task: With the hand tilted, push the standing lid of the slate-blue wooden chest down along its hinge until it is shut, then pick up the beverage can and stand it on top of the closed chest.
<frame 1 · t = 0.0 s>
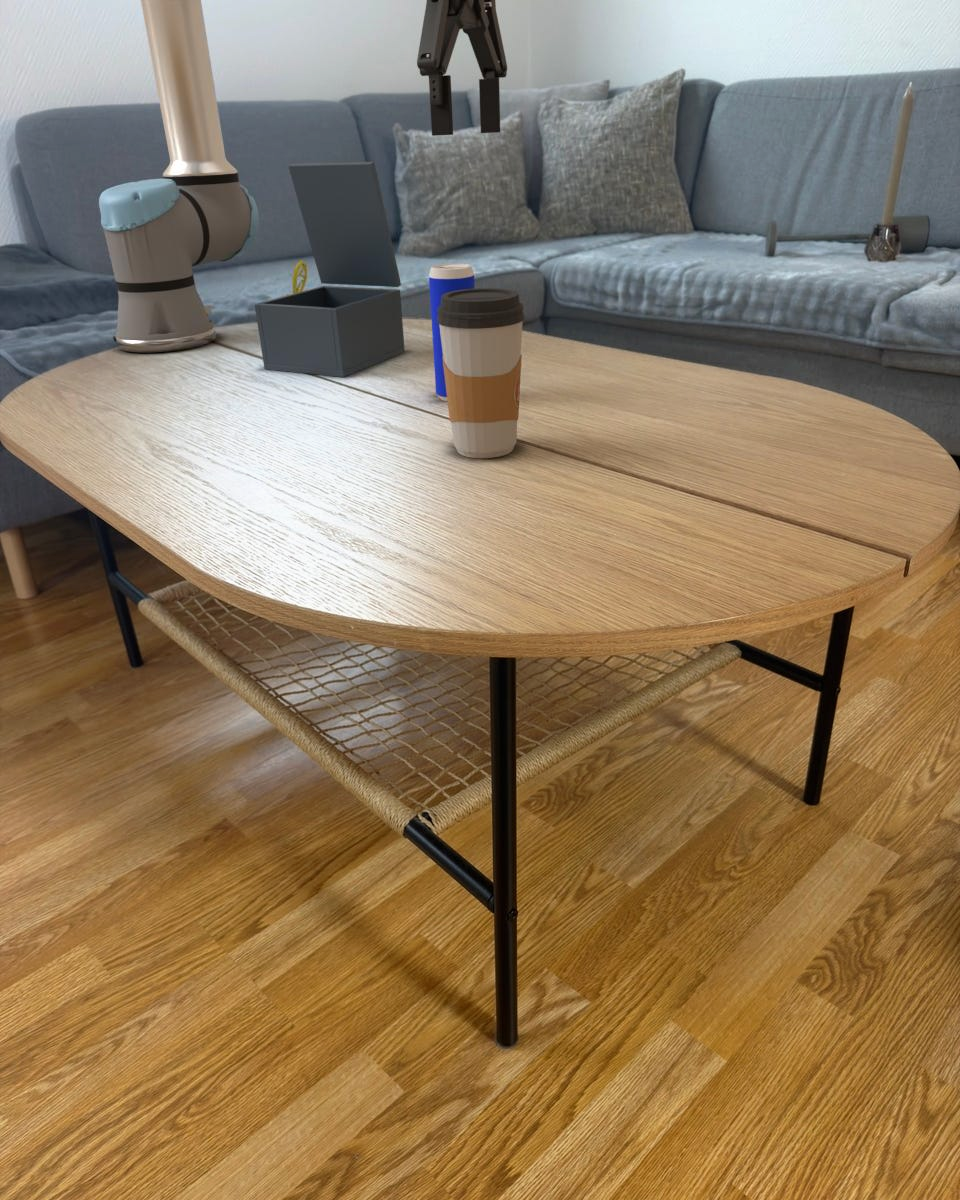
hand: (467, 134, 116), 28 cm above the table, tool pointing down, fingers open, 13 cm apart
coffee cup: (485, 450, 88), on the table
yellow spoked ring: (291, 332, 145), on the table
chest: (336, 360, 125), on the table
lid: (346, 226, 121), point 17 cm above the table, hinge at 75.0°
beverage can: (457, 398, 106), on the table
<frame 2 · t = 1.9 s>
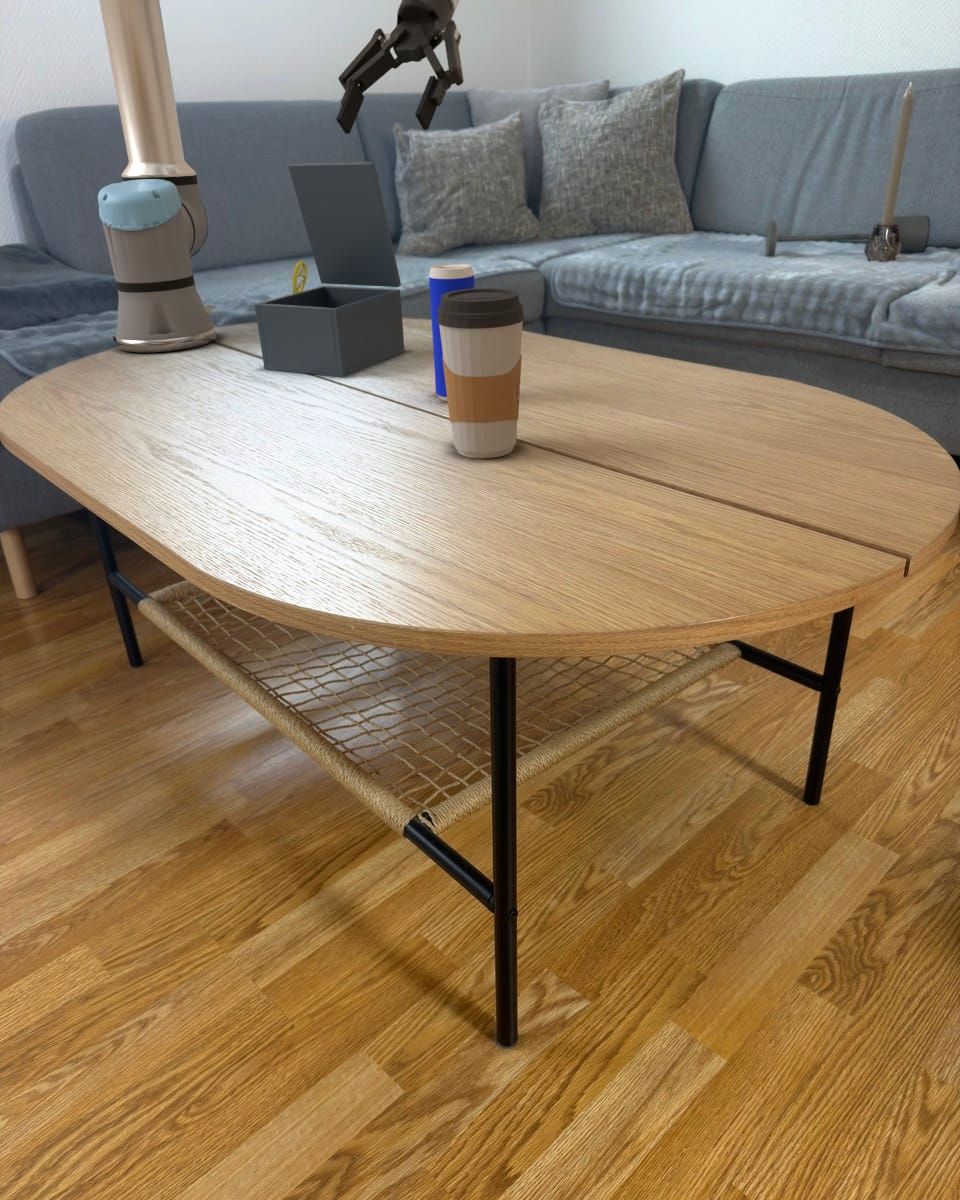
hand: (381, 124, 123), 30 cm above the table, tool tilted 45°, fingers open, 13 cm apart
nothing on the table moved.
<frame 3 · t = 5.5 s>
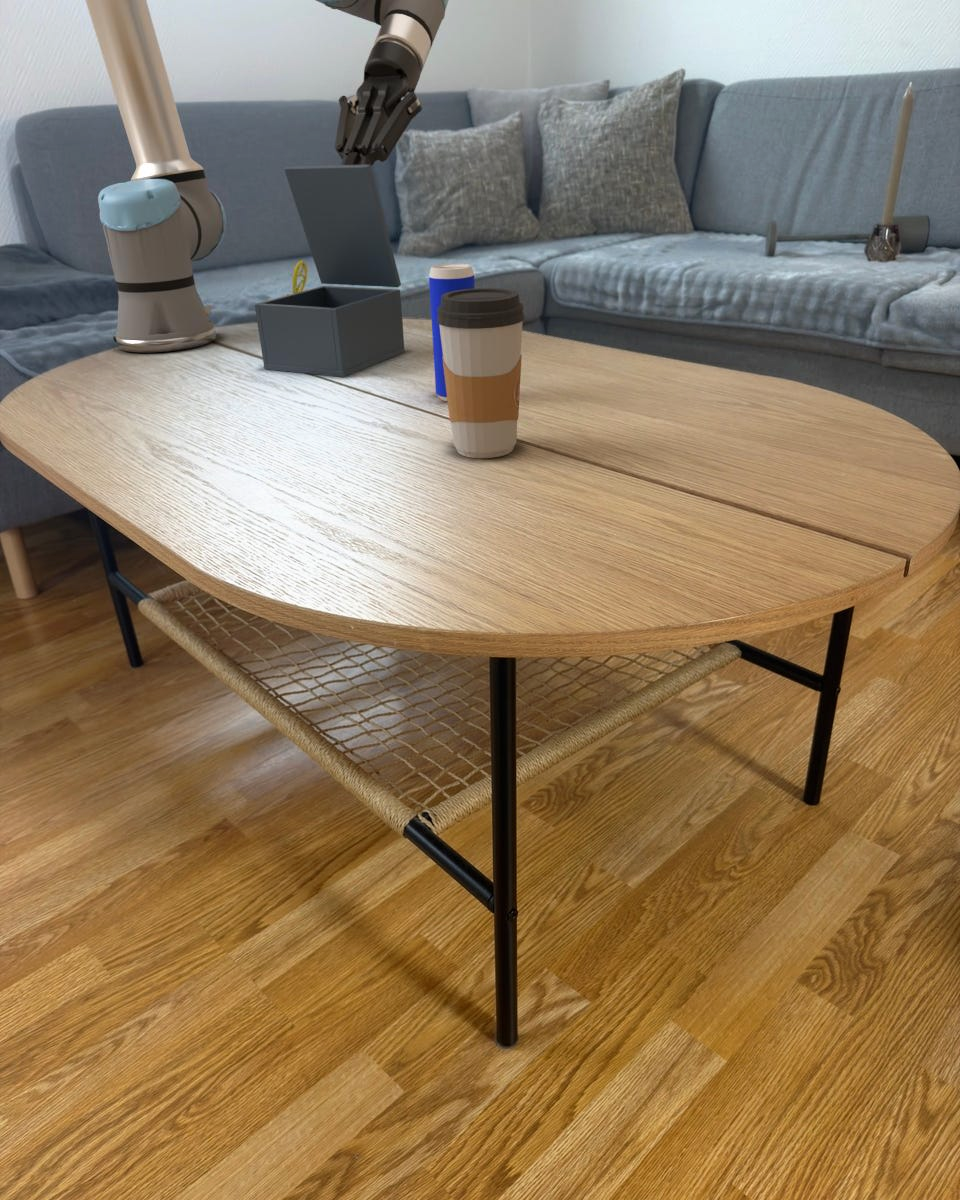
hand: (342, 198, 119), 21 cm above the table, tool tilted 45°, fingers closed
lid: (344, 228, 121), point 17 cm above the table, hinge at 71.5°, touching gripper
everything else where it was.
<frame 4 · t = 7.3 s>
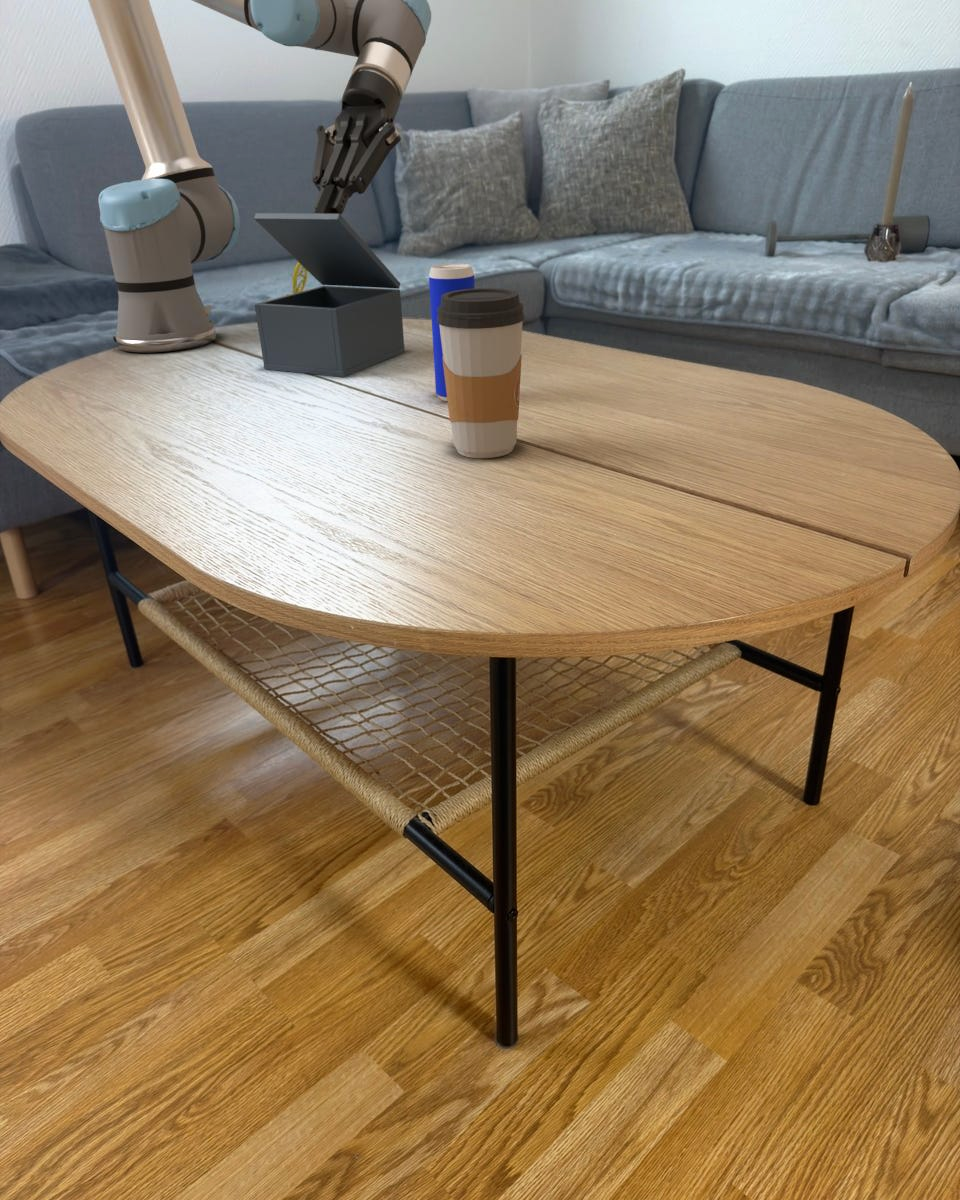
hand: (319, 232, 116), 17 cm above the table, tool tilted 45°, fingers closed
lid: (330, 252, 119), point 14 cm above the table, hinge at 38.6°, touching gripper
everything else where it was.
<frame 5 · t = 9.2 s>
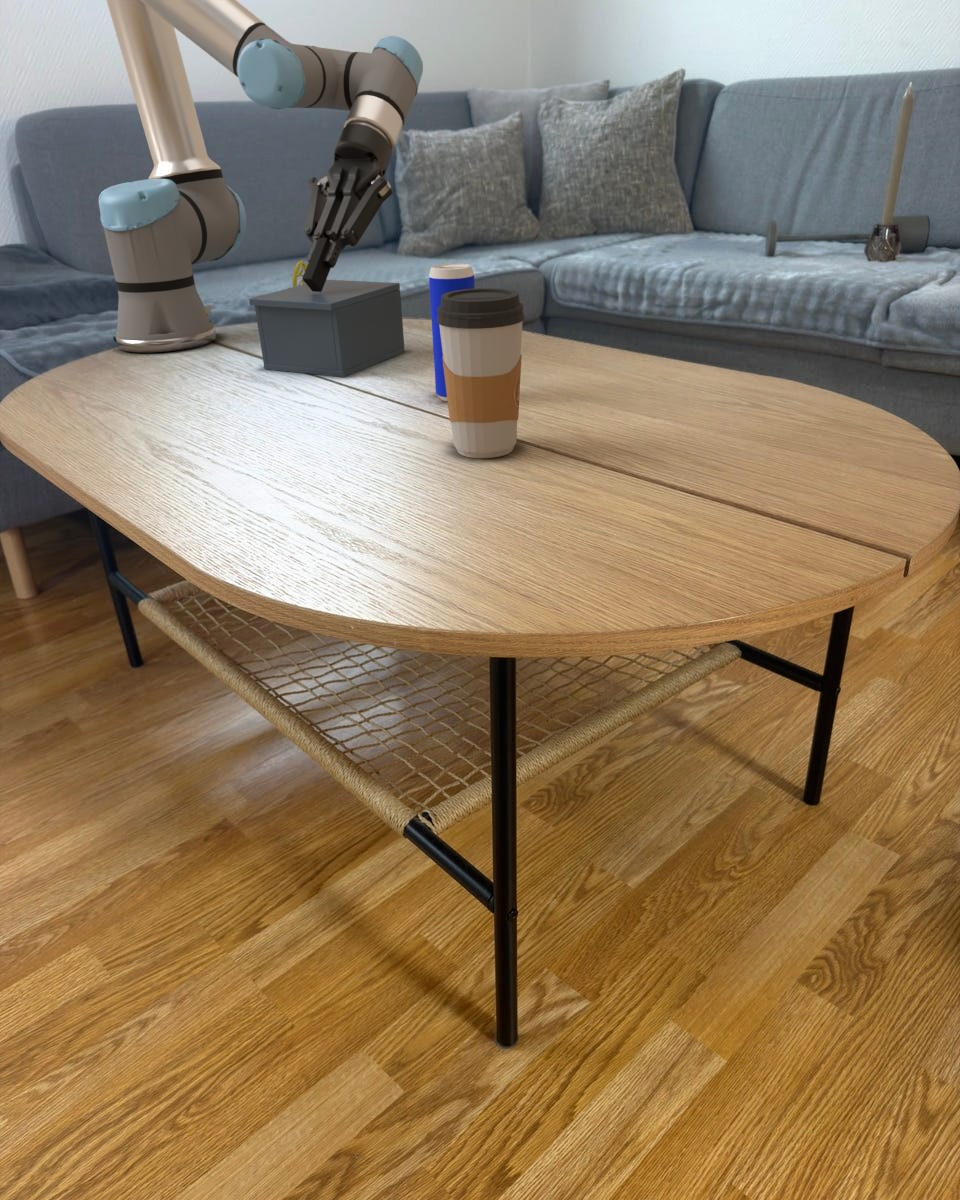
hand: (312, 285, 117), 11 cm above the table, tool tilted 45°, fingers closed
lid: (326, 293, 120), point 9 cm above the table, hinge at -0.2°, touching chest, gripper
everything else where it was.
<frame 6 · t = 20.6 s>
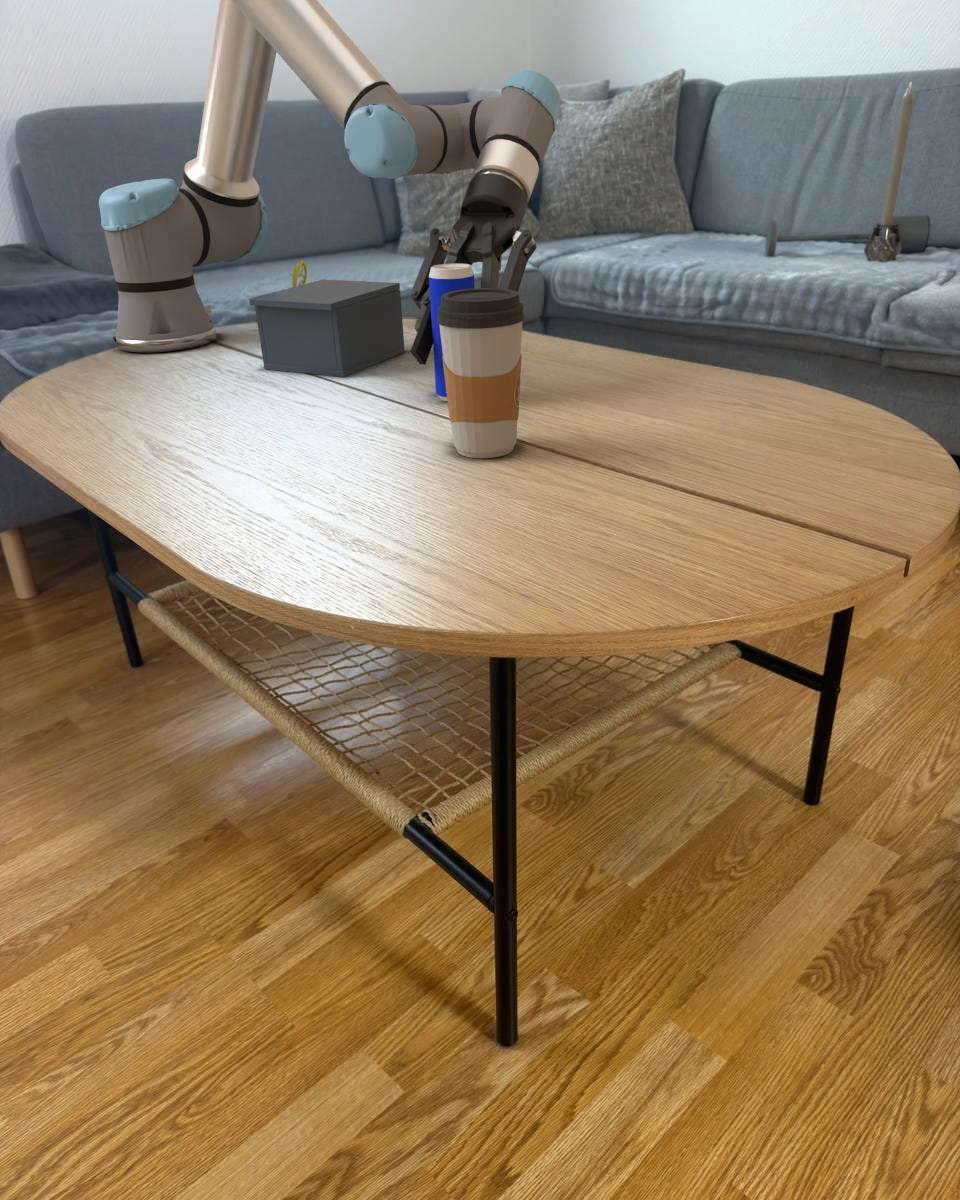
hand: (439, 359, 100), 5 cm above the table, tool tilted 45°, fingers closed on beverage can, 5 cm apart
lid: (326, 293, 120), point 9 cm above the table, hinge at -0.2°, touching chest
beverage can: (457, 398, 106), on the table, touching gripper
everything else where it was.
when the fingers open (15 cm above the table, at t = 30.5 s): beverage can stays where it is, resting on lid.
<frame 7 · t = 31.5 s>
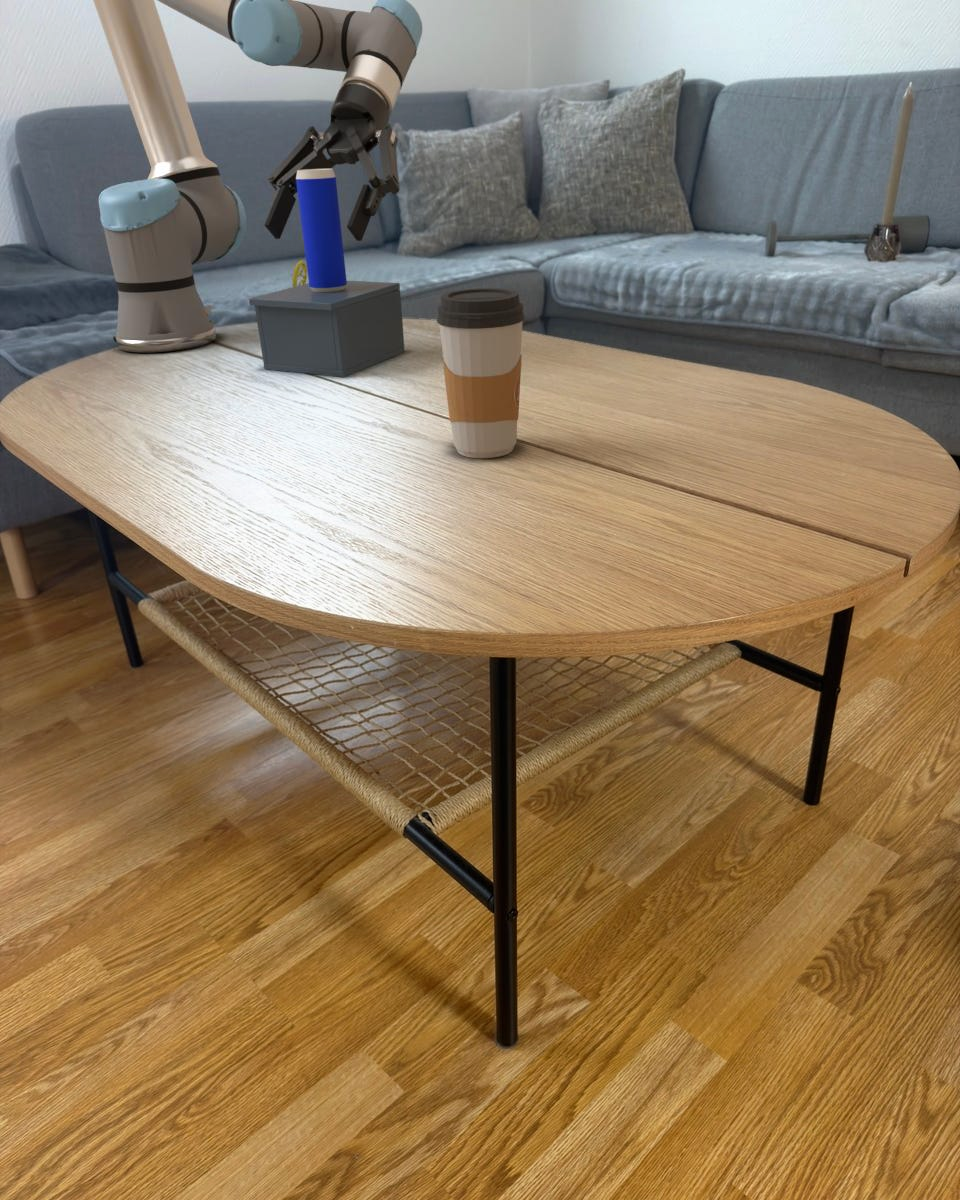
hand: (311, 233, 115), 17 cm above the table, tool tilted 45°, fingers open, 13 cm apart
lid: (326, 293, 120), point 9 cm above the table, hinge at -0.2°, touching beverage can, chest
beverage can: (328, 291, 121), point 9 cm above the table, touching lid
everything else where it was.
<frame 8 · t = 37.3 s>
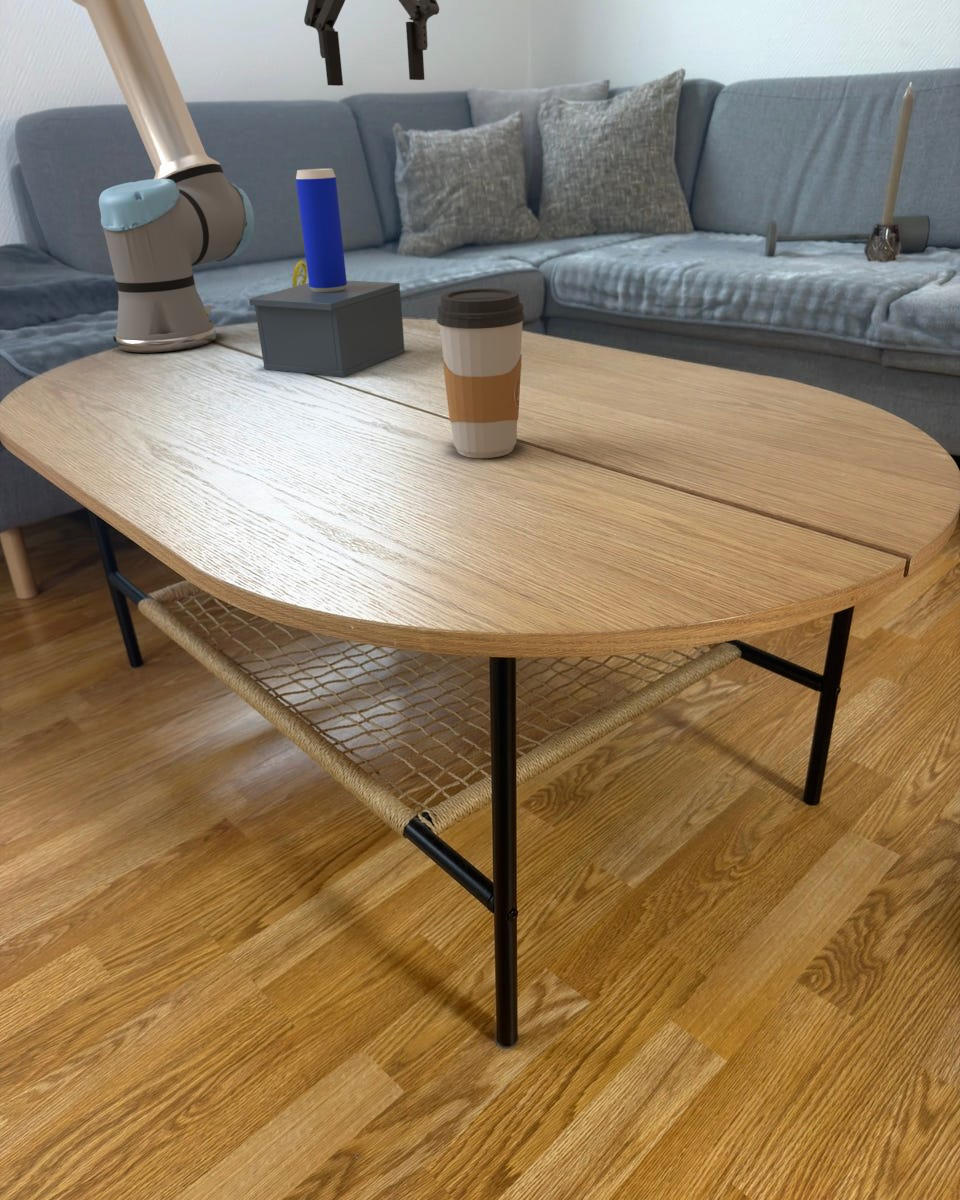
hand: (375, 83, 121), 35 cm above the table, tool pointing down, fingers open, 13 cm apart
nothing on the table moved.
at the end: lid at +0° (first picture: +75°); beverage can inside the target area on the chest (0.1 cm from its centre), point 9.5 cm above the chest's base; beverage can tilted 0° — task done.
